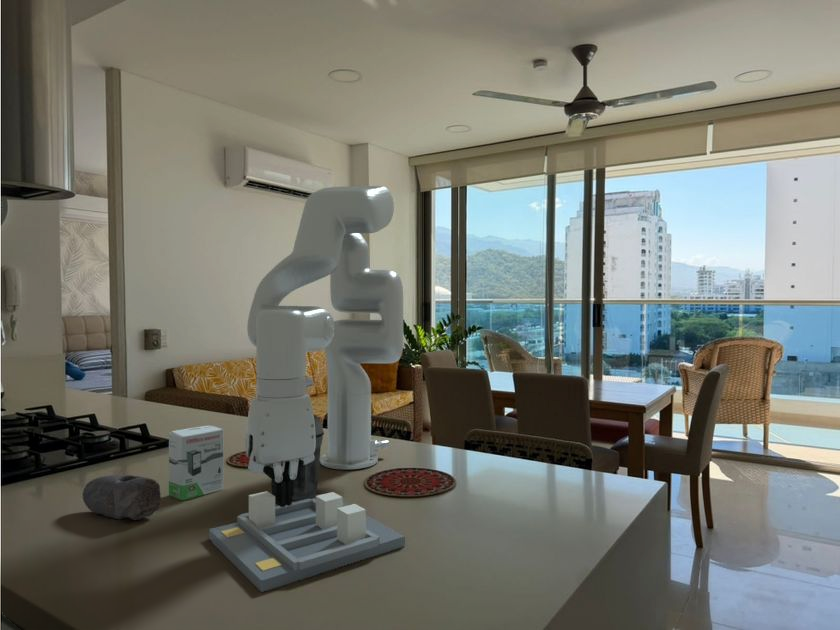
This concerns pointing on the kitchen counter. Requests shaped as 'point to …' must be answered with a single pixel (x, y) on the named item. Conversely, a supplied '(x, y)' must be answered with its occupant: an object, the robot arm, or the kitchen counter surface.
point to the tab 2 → (327, 509)
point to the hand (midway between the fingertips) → (282, 503)
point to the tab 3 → (351, 523)
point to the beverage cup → (309, 470)
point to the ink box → (195, 461)
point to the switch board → (296, 545)
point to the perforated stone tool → (122, 496)
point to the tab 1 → (262, 509)
